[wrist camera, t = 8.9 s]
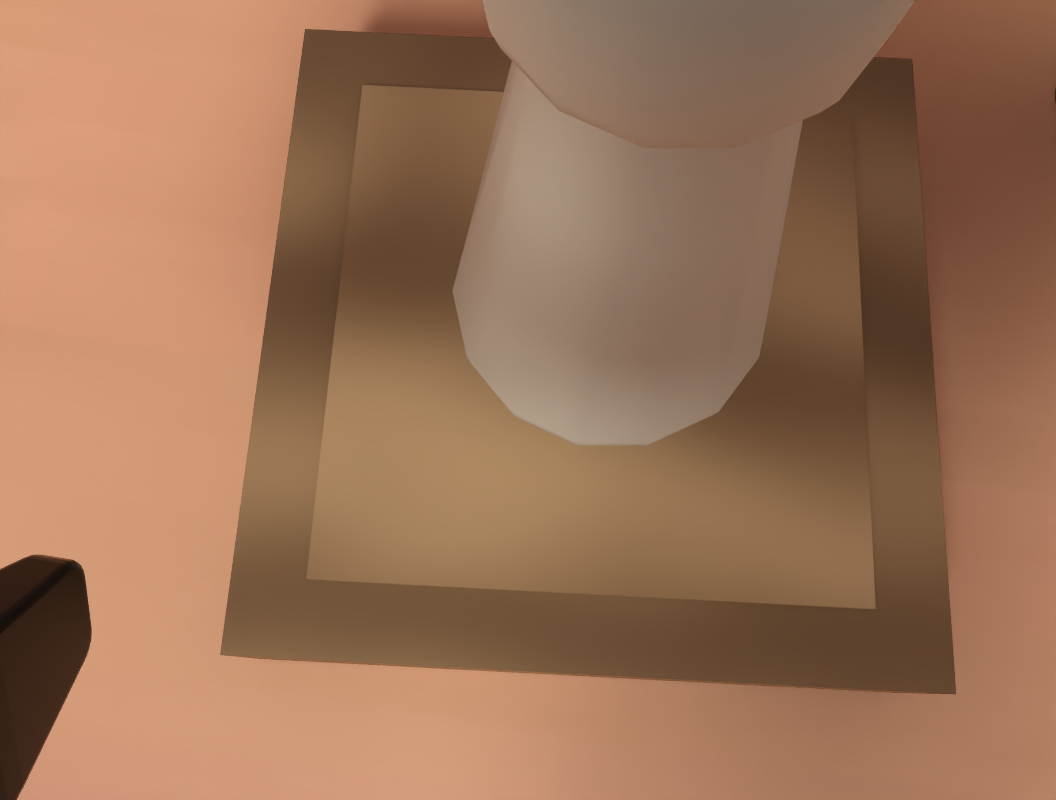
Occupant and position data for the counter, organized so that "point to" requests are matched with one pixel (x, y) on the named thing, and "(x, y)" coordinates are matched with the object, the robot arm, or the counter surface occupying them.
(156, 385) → the counter surface
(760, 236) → the salt shaker
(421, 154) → the base board
